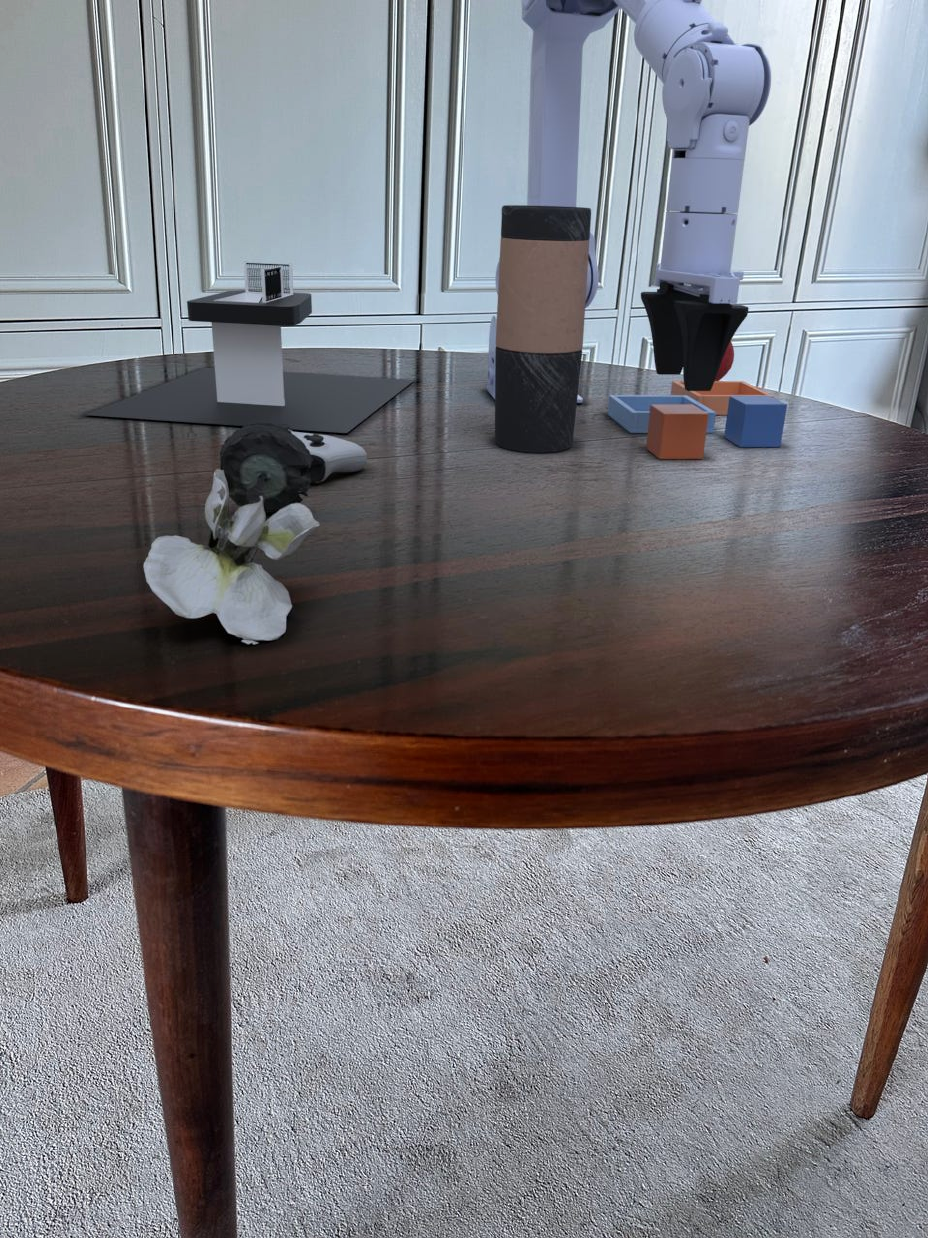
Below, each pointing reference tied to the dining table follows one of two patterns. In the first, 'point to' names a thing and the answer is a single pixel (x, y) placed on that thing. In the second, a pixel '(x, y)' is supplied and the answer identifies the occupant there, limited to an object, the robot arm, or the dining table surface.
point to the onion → (726, 362)
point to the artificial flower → (240, 537)
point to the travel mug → (540, 325)
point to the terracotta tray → (718, 394)
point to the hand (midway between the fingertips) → (682, 381)
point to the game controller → (329, 455)
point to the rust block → (676, 431)
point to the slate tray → (648, 410)
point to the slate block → (755, 421)
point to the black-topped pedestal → (258, 369)
